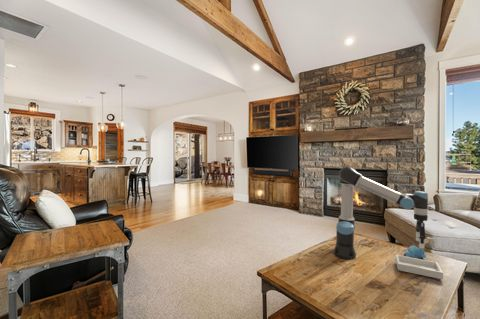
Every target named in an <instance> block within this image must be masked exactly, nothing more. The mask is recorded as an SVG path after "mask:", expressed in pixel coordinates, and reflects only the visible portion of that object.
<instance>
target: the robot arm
mask: <svg viewBox="0 0 480 319" xmlns="http://www.w3.org/2000/svg"><path fill="white" fill-rule="evenodd" d="M362 174H363V173H359V172H358V170H357V169H356V168H355V167H353V166H350V165H345V166H343V167H342V168H341V169H340V171H339V172H338V176H339V184H340V185H341V193H340V194H341V198H340V199H341V200H340V215H339V216H338V222H337V223H336V227H335V229H336V231H335V232H336V237H335V242H336V243H335V246H334V248H333V255H334V257H336V258H339V259H342V260H351V261H352V260H354V259H356V258H357V253H356V250H355V246H354V243H355V242H354V240H355V237H354V236H355V229H356V226H355V223H356V218H355V217H354V212H353V211H354V197H355V195H354V193H355V192H354V191H355V187H359V188H362V189H363V190H366V191H368V192H370V193H372V194H374V195H377V196H379V197H380V198H383V199H385V200H386V201H390V202H391V203H394V204H396V205H398V206H399V207H401V208H402V209H405V210H411V209H413V219H414V220H416V222H415V223H416V225H415V230H416V231H415V241H416V242H419V243H418V248H423V249H425V245H426V244H425V239H426V228H425V222H427V221H428V220H429V219H428V218H429V216H428V212H429V195H428V193H427V192H426V191H421V190H417V191H416V190H415V191H414V192H413V193H403V192H399V191H396V190H394V189H391V188H390V187H387V186H385V185H383V184H381V183H379V182H376V181H374V180H372V179H369V178H367V177H365V176H363V175H362Z"/></svg>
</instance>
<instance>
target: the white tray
mask: <svg viewBox="0 0 480 319" xmlns="http://www.w3.org/2000/svg"><path fill="white" fill-rule="evenodd" d="M395 255H396V256H395V262H396V268H397V270H398V273H403V272H407V273H410V274H411V273H412V274H414V275H415V274H416V275H421V276H425V277H430V278H435V279H436V281H438V282H439V281H441V280H444V272H443V270H442V268H441V266H440V264H439V263H438V261H432V260H427V259H424V260H422V259H417V258H412V257H406V256H404V255H400V254H395Z"/></svg>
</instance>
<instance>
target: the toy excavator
mask: <svg viewBox="0 0 480 319" xmlns="http://www.w3.org/2000/svg"><path fill="white" fill-rule="evenodd" d="M426 244H429V246H434V244H435V241H434V239H433V238H431V237H430V236H427V237H426V236H425V245H426ZM425 252H426V251H425V249H424V248H419V246H416V245H410V246H409V247H408V249H407V250H405V251H404V253H403V256H406V257H412V258H417V259H422V260H425V259H426V258H427V255H426V254H425Z"/></svg>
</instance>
